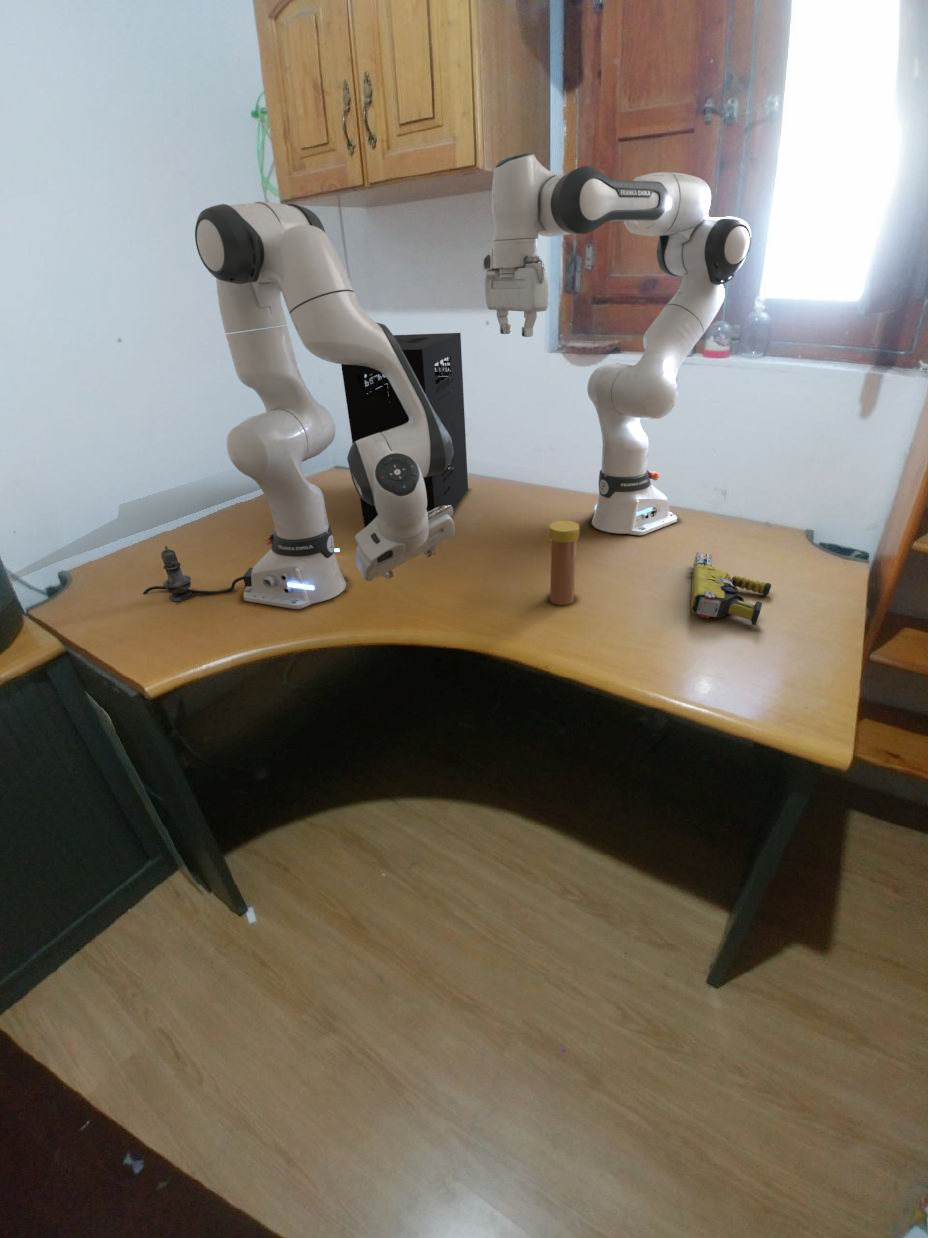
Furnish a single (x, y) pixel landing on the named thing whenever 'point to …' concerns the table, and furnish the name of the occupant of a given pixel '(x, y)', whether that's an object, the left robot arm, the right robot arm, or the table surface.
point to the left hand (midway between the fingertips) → (408, 564)
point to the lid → (564, 531)
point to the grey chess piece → (175, 577)
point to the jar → (562, 572)
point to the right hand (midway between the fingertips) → (516, 335)
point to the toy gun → (722, 592)
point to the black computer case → (388, 413)
